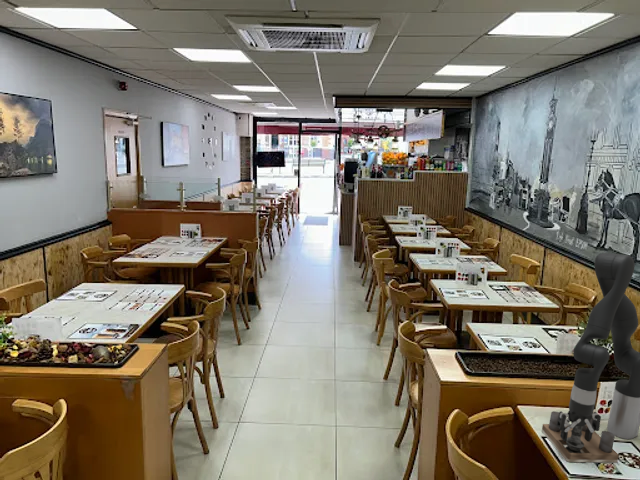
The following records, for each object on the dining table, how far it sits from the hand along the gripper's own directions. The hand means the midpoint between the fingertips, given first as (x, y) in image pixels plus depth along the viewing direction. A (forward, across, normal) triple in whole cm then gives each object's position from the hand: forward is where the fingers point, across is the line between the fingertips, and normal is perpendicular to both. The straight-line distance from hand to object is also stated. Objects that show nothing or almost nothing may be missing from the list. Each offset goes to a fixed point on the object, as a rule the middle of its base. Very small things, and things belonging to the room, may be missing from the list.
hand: (575, 440), depth 172 cm
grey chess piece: (+5, 0, 0) cm, 5 cm away
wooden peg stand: (+5, -4, -4) cm, 8 cm away
